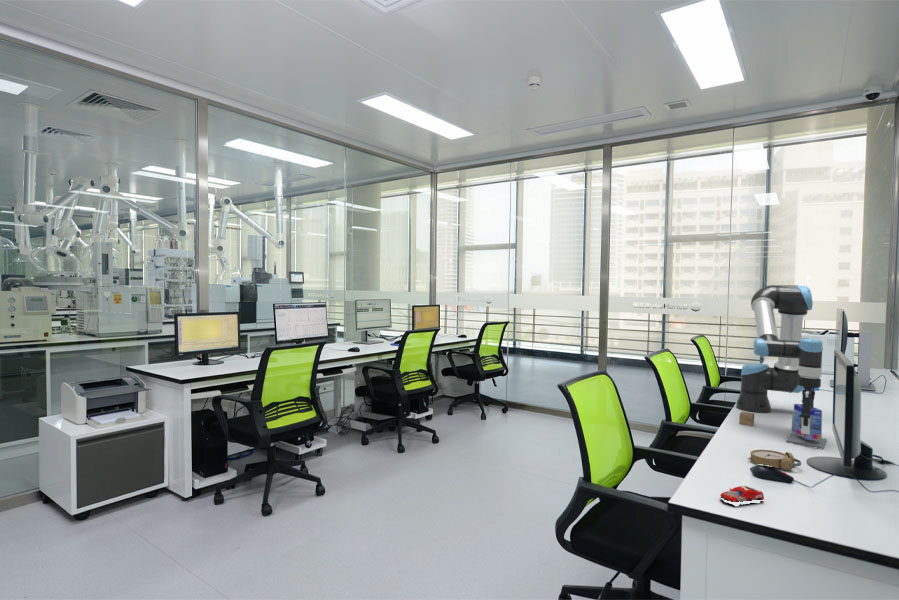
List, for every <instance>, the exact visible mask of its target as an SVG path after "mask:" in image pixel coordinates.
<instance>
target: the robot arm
mask: <svg viewBox="0 0 899 600" xmlns="http://www.w3.org/2000/svg"><path fill="white" fill-rule="evenodd" d="M813 304H814V303H813V296H812V292H811V289H810V288H809V287H808V285H807V286H806V285H798V284H797V285H794V284H793V285H791V284H790V285H789V284H788V285H783V284H782V285H777V284H771V285H765V286H763V287H761V288H760V289H758V290H757V291H755V293H754V294H753V296H752V298H751V301H750V306H751V307H750V308H751V309H752V311H753V312H754V317H755V318H754V319H755V327H756V332H757V333H756V334H757V338H755V339H754V340H753V354H754V355H755V356H761V357H765V358H766V357H771V358H772V357H773V358H777V361H776V362H774V363H773V364H774V365H773V367H770V366H769V364H768V363H747V364H744V365H743V366H742V367H741V373H740V377H741V379H740V380H741V381H740V393H739V395H738V398H737V400H736V402H735V403H736V404H735V405H736V406H735V407H736V408H737V409H739V410H743V411H745V412H747V411H748V412H750V413H752V412H753V413H761V414H762V413H763V414H765V413H766V414H767V413H771V412H772V406H771V403H770V399H769V396H768V391H772V392H783V393H790V394H791V393H794V394H795V393H796V394H799V393H801V394H802V397H801V399H802V401H803V403H802V404H803V405H802V414H801V415H800V417H802V424H801V433H804V434H809V435H810V410H811V406H812V407H814V406H815V405H814V403H815V402H814V401H815V395H816V391H815V389H820V388H821V387H822V385H821V384H822V379H821V377H822V371H823V370H822V369H823V367H822V363H823V350H824V348H823V341H822V340H821V339H816V338H802V332H803V322H804V321H803V320H804V317H805V316H807V315H808V311H811V310H813ZM774 310H777V313H778V314H779V315H780V316H781V319H780V329H779V330H780V331H779V332H780V333H779V334H778V330H777V324H776V318H775V312H774ZM802 401H801V402H802ZM814 408H815V407H814Z"/></svg>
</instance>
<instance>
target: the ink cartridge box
mask: <svg viewBox="0 0 899 600" xmlns="http://www.w3.org/2000/svg"><path fill="white" fill-rule="evenodd" d="M801 402H802V403H794V404H793V415H794V429H793V432H792V433H796V434H798V435H800V436H802V437H804V438H805V439H807V440H822V436H823V434H822V433H823V432H822V429H823V427H822V425H823V424H822V422H823V418H822V417H823V411H822V410H821V409H819V408H816V407H812V406H811V410H810V435H809V434H804V433H801V424H802V417H800V415H801V414H802V405H803V401H802V400H801Z"/></svg>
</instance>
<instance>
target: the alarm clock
mask: <svg viewBox="0 0 899 600" xmlns="http://www.w3.org/2000/svg"><path fill="white" fill-rule="evenodd" d="M747 458H748V460H750V462H752V463H753V462H754V463H755V465H756V464H763V465H769V466H772V467H775V468H774V469H782V470H783V471H786V472H788V471H790V470H792V468H793V467H800V466H802V461H801V460H800V459H797V458H796V457H795V456H794V454H792V453H791V452H785V453H783V452H780V451H776V450H770V449H754V450H750V457H747ZM795 462H796V463H795ZM754 463H753V464H754Z"/></svg>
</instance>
